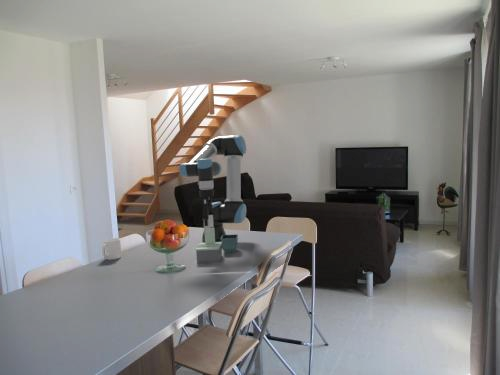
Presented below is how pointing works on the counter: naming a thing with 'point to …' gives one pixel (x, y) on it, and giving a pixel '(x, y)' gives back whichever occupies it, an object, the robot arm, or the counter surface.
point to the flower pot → (229, 243)
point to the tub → (209, 255)
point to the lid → (209, 242)
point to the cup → (112, 249)
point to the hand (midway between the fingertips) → (209, 229)
